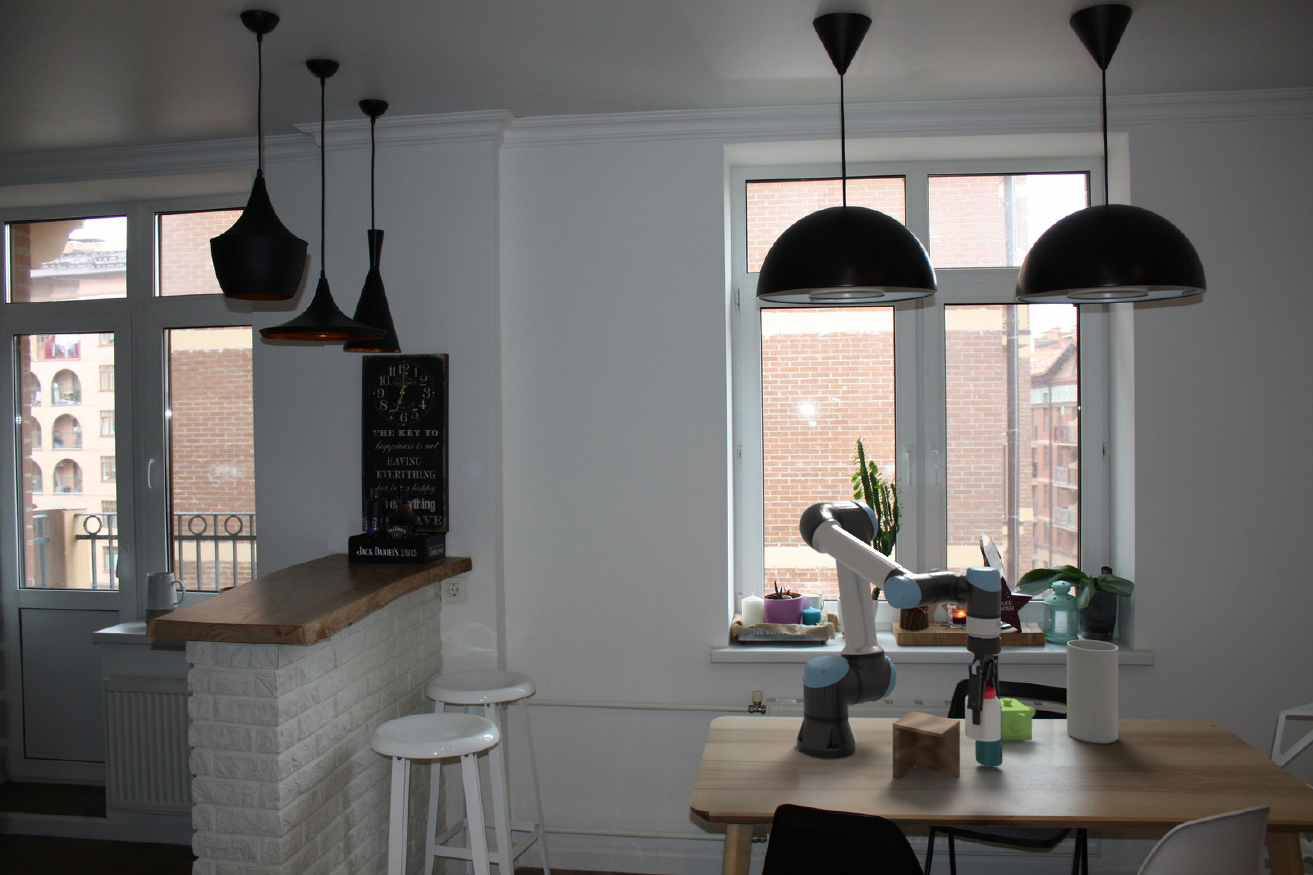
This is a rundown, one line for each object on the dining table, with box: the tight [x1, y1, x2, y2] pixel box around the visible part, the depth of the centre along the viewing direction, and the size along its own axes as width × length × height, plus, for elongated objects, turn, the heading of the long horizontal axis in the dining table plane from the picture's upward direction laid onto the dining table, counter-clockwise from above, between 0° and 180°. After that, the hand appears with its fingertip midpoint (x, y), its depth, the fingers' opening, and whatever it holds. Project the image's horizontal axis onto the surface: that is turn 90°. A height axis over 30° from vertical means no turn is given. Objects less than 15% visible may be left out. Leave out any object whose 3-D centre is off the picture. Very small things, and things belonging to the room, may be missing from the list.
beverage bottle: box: [974, 706, 1004, 767], centre depth 220 cm, size 6×7×20 cm
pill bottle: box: [964, 686, 1001, 742], centre depth 205 cm, size 8×8×11 cm
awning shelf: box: [892, 710, 961, 781], centre depth 215 cm, size 12×12×13 cm
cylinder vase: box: [1066, 639, 1119, 744], centre depth 242 cm, size 12×12×25 cm
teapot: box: [1000, 697, 1036, 743], centre depth 242 cm, size 15×13×11 cm
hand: (983, 733), depth 205 cm, fingers closed on pill bottle, 8 cm apart
